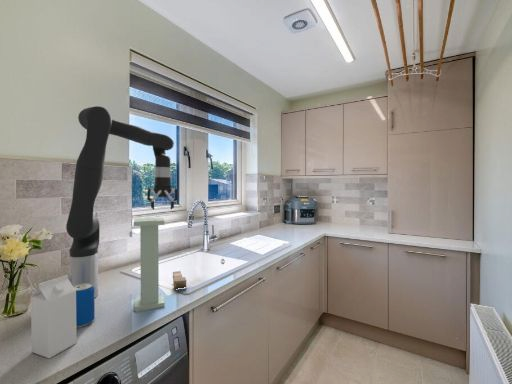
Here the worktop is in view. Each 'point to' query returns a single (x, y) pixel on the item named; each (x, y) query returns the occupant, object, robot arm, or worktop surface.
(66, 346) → the milk carton
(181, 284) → the walnut rail
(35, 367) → the worktop surface
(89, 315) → the beverage can
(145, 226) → the shelf stand
